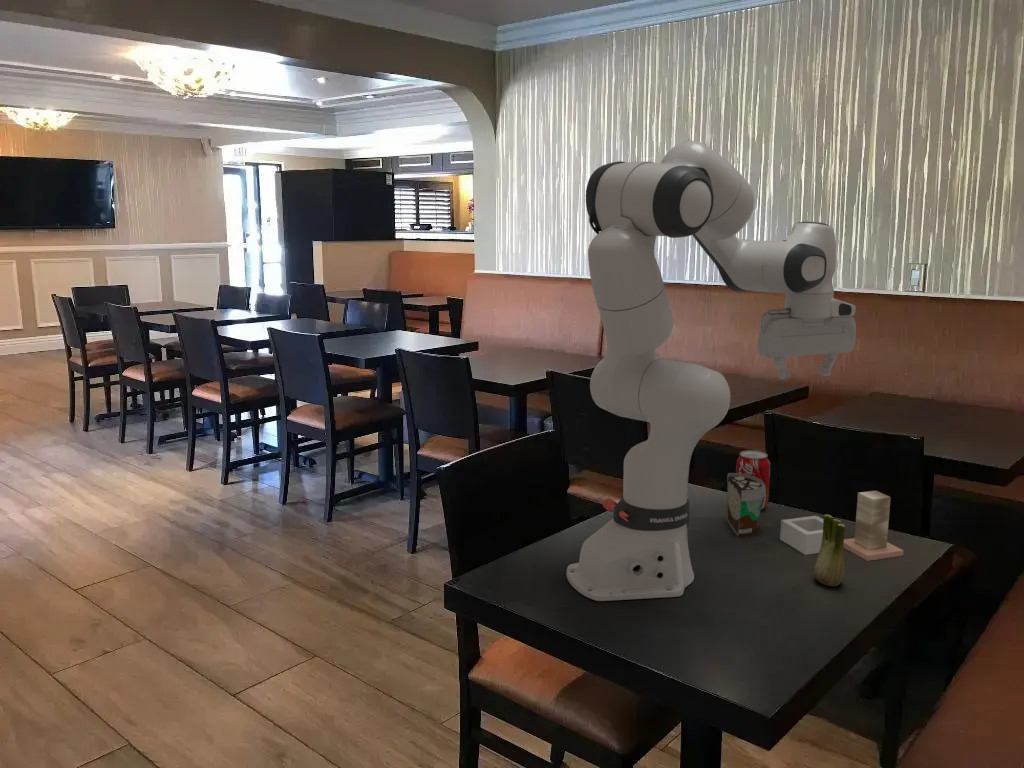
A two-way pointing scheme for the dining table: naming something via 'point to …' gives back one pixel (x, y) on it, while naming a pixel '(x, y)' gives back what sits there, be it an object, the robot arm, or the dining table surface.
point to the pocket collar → (803, 533)
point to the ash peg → (872, 520)
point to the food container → (744, 503)
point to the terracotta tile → (872, 551)
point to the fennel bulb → (831, 553)
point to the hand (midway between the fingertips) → (804, 377)
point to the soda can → (755, 469)
